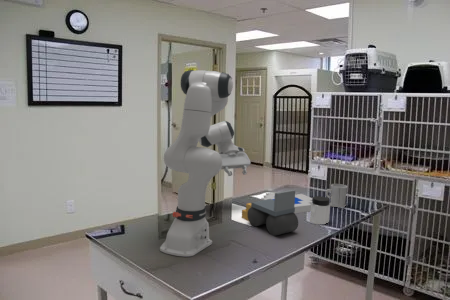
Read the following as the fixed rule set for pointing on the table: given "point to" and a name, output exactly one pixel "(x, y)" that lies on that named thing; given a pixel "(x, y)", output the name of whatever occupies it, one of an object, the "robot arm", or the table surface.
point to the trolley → (275, 213)
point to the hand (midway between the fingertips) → (238, 174)
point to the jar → (320, 210)
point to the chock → (246, 211)
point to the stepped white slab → (300, 204)
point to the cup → (337, 195)
